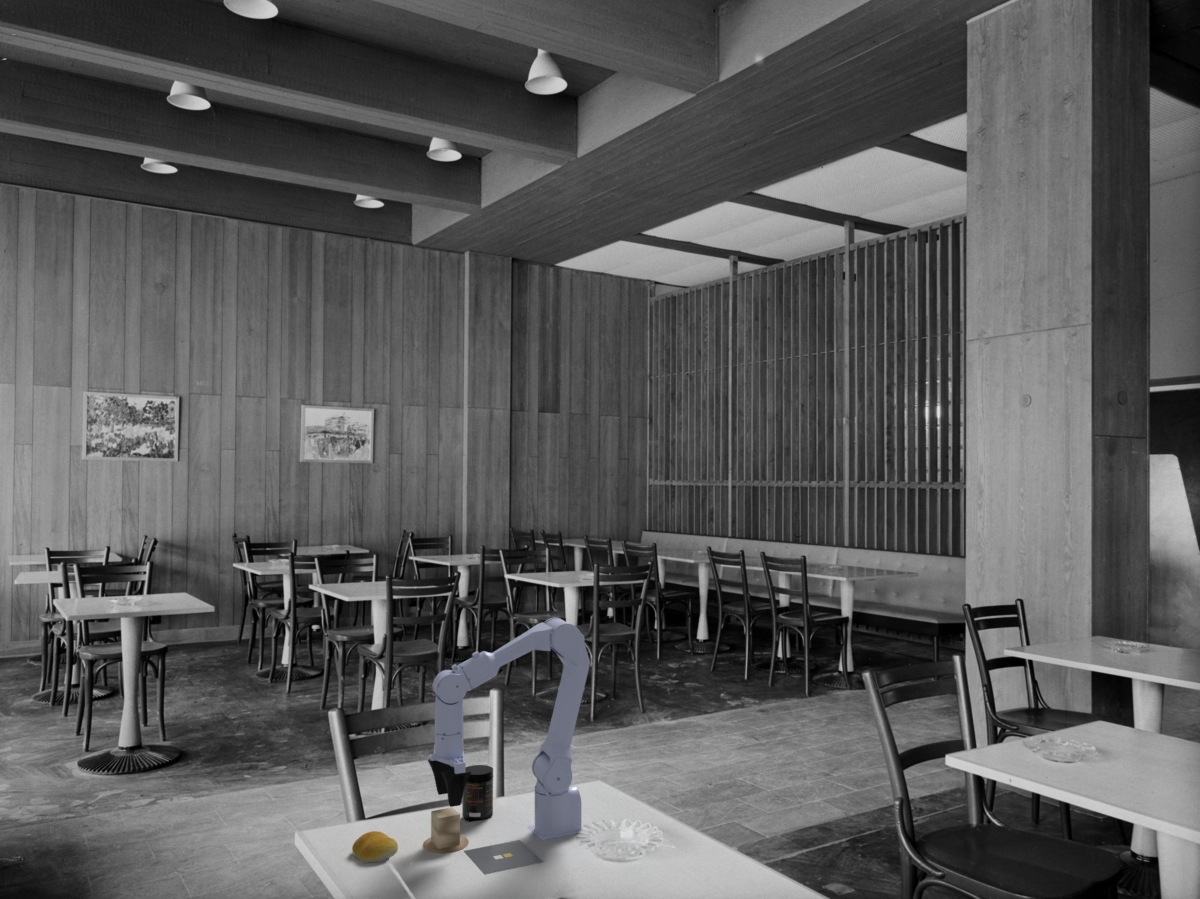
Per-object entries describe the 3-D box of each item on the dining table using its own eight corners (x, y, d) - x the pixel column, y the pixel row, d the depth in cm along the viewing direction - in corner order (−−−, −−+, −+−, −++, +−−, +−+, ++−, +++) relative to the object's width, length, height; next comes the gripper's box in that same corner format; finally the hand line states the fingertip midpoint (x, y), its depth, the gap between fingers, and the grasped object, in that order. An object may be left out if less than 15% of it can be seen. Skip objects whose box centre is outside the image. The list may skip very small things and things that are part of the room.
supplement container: (494, 811, 203) (494, 764, 203) (492, 823, 196) (492, 774, 196) (463, 812, 202) (463, 765, 203) (460, 824, 196) (460, 775, 196)
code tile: (520, 842, 186) (520, 839, 186) (543, 864, 175) (543, 861, 175) (463, 853, 180) (463, 850, 180) (484, 877, 169) (484, 874, 169)
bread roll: (368, 868, 174) (368, 847, 174) (346, 854, 181) (346, 833, 181) (406, 856, 179) (406, 835, 180) (384, 842, 186) (384, 822, 186)
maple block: (452, 836, 187) (452, 807, 187) (459, 844, 183) (460, 814, 183) (431, 841, 184) (431, 811, 185) (438, 849, 180) (438, 818, 181)
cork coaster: (460, 834, 190) (460, 831, 190) (474, 850, 182) (474, 846, 182) (417, 842, 185) (417, 838, 185) (430, 859, 177) (430, 855, 177)
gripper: (419, 725, 189) (419, 791, 189) (440, 743, 176) (440, 814, 176) (452, 721, 192) (452, 786, 192) (475, 738, 179) (475, 808, 179)
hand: (449, 799), depth 184 cm, fingers open, 7 cm apart
